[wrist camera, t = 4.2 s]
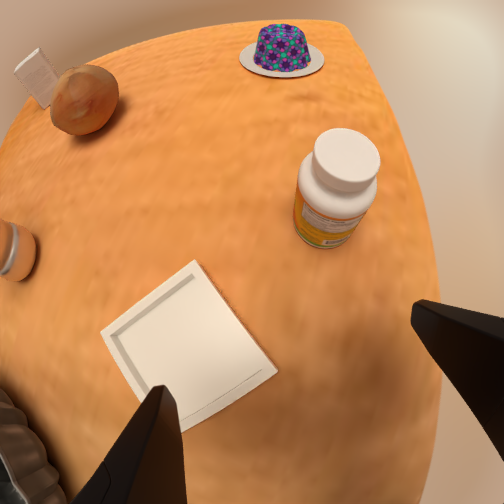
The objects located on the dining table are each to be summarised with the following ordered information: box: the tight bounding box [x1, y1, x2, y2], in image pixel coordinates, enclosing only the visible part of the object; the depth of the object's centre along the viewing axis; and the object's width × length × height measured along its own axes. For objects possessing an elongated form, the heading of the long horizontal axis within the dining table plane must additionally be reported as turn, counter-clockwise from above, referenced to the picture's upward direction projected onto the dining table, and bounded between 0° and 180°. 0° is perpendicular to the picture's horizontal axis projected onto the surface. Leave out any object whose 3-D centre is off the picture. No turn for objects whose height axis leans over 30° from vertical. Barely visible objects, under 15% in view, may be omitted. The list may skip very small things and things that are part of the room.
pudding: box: [239, 24, 324, 77], centre depth 29 cm, size 12×12×5 cm
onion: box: [50, 65, 119, 135], centre depth 26 cm, size 10×10×10 cm
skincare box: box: [14, 47, 60, 110], centre depth 30 cm, size 6×4×12 cm
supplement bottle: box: [293, 128, 380, 248], centre depth 19 cm, size 5×5×10 cm
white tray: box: [100, 259, 278, 433], centre depth 20 cm, size 11×11×2 cm
